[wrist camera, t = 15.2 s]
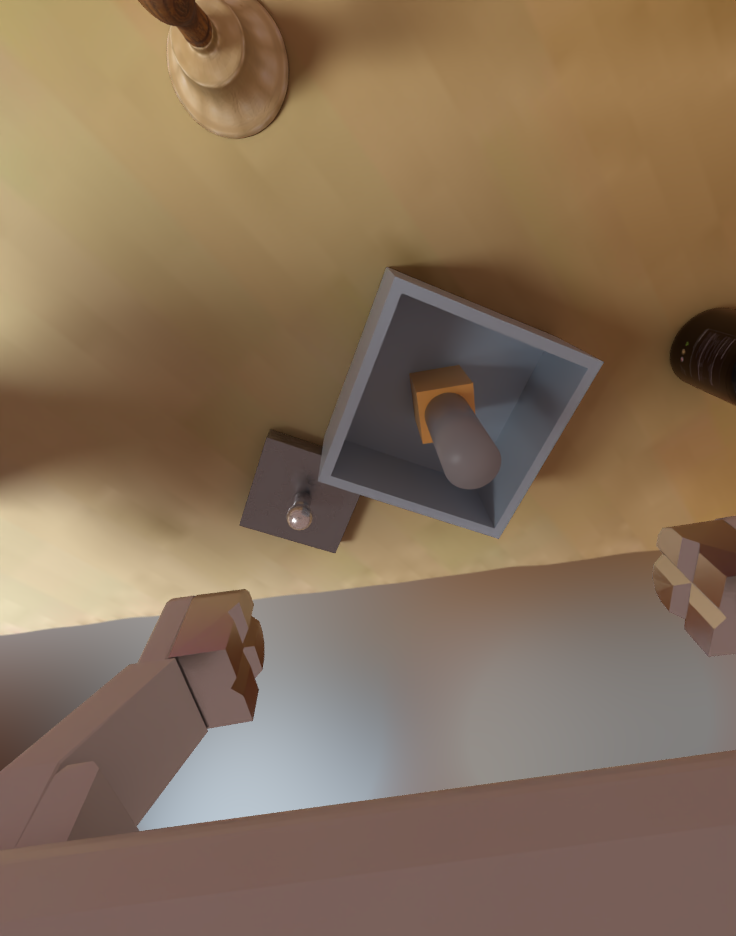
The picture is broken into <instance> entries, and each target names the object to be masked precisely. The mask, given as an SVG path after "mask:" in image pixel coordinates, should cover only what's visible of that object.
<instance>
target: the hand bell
mask: <svg viewBox="0 0 736 936" xmlns="http://www.w3.org/2000/svg"><path fill="white" fill-rule="evenodd" d="M138 1H139V2H140V3H141V4H142V5H143V7H144V8H145V9H146V10H147V11H149V12H150V13H151V14H152V15H153V16H154V17H156V18H157V19H158V20H160V21H162V22H164V23H166V24H168V25H171V26H170V29H169V34H168V40H167V64H168V70H169V75H170V79H171V82H172V85H173V88H174V91H175V93H176V95H177V97H178V99H179V101H180V102H181V104H182V105H183V107H184V108H185V110H186V111H187V112H188V114H189V115H190V116H191V117H192V118H193V119H194V120H195V121H196V122H197V123H198V124H200V125H201V126H202V127H203V128H205V129H206V130H208V131H210V132H212V133H214V134H216V135H219V136H222V137H227V138H244V137H249V136H252V135H254V134H256V133H258V132H260V131H262V130H263V129H264V128H266V127H267V126H268V125H269V124H270V123H271V122H272V121H273V120H274V118H275V117H276V115H277V114H278V112H279V110H280V108H281V106H282V103H283V101H284V99H285V95H286V91H287V86H288V71H289V69H288V58H287V53H286V49H285V44H284V41H283V38H282V36H281V33H280V31H279V29H278V27H277V25H276V23H275V22H274V20H273V18H272V17H271V15H270V14H269V13H268V11H267V10H266V9H265V8H264V7H263V6H262V5H261V4H260V3H259V2H258V1H257V0H138Z"/></svg>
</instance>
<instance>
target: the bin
mask: <svg viewBox="0 0 736 936" xmlns="http://www.w3.org/2000/svg"><path fill="white" fill-rule="evenodd" d="M603 363H604V362H603V361H601V360H599V359H597V358H595V357H594V356H592V355H590V354H588V353H586V352H584V351H582V350H580V349H578V348H577V347H575V346H573V345H571V344H569V343H567V342H565V341H563V340H562V339H560V338H558V337H556V336H553V335H551V334H548V333H546V332H544V331H541V330H539V329H536V328H534V327H532V326H529V325H527V324H524V323H522V322H519V321H517V320H515V319H512V318H510V317H507V316H505V315H502V314H500V313H498V312H495V311H493V310H490V309H488V308H485V307H483V306H481V305H478V304H476V303H473V302H471V301H469V300H466V299H464V298H461V297H459V296H456V295H454V294H452V293H449V292H447V291H444V290H442V289H439V288H437V287H435V286H432V285H430V284H427V283H425V282H422V281H420V280H418V279H415V278H413V277H410V276H408V275H406V274H403V273H401V272H398V271H396V270H393V269H391V268H389V267H386V270H385V272H384V275H383V278H382V281H381V283H380V286H379V289H378V291H377V294H376V297H375V300H374V302H373V305H372V308H371V311H370V313H369V316H368V319H367V321H366V324H365V327H364V330H363V332H362V335H361V338H360V341H359V343H358V346H357V349H356V351H355V354H354V357H353V360H352V362H351V365H350V368H349V371H348V373H347V376H346V379H345V381H344V384H343V387H342V390H341V392H340V395H339V398H338V400H337V403H336V406H335V409H334V411H333V414H332V417H331V420H330V422H329V425H328V428H327V430H326V433H325V436H324V441H323V448H322V455H321V462H320V469H319V476H318V482H321V483H325V484H328V485H331V486H334V487H337V488H340V489H343V490H347V491H350V492H353V493H356V494H359V495H362V496H365V497H369V498H372V499H375V500H378V501H381V502H384V503H387V504H391V505H394V506H397V507H400V508H403V509H406V510H410V511H413V512H416V513H419V514H422V515H425V516H428V517H432V518H435V519H438V520H441V521H444V522H447V523H450V524H454V525H457V526H460V527H463V528H466V529H469V530H472V531H476V532H479V533H482V534H485V535H488V536H491V537H494V538H498V539H499V538H500V536H501V534H502V533H503V531H504V529H505V528H506V526H507V524H508V522H509V521H510V519H511V517H512V516H513V514H514V512H515V511H516V509H517V507H518V506H519V504H520V502H521V501H522V499H523V497H524V496H525V494H526V492H527V491H528V489H529V487H530V486H531V484H532V482H533V480H534V479H535V477H536V475H537V474H538V472H539V470H540V469H541V467H542V465H543V464H544V462H545V460H546V459H547V457H548V455H549V454H550V452H551V450H552V449H553V447H554V445H555V443H556V442H557V440H558V438H559V437H560V435H561V433H562V432H563V430H564V428H565V427H566V425H567V423H568V422H569V420H570V418H571V417H572V415H573V413H574V412H575V410H576V408H577V406H578V405H579V403H580V401H581V400H582V398H583V396H584V395H585V393H586V391H587V390H588V388H589V386H590V385H591V383H592V381H593V380H594V378H595V376H596V375H597V373H598V371H599V370H600V368H601V366H602V364H603ZM455 365H460V367H461V368H462V369H463V371H464V372H465V373H466V374H467V376H468V377H469V378H470V380H471V381H472V382H473V387H474V401H475V415H476V416H477V418H478V419H479V421H480V422H481V424H482V425H483V427H484V428H485V430H486V431H487V433H488V435H489V436H490V438H491V439H492V441H493V442H494V444H495V445H496V447H497V448H498V450H499V452H500V455H501V467H500V470H499V472H498V474H497V475H496V477H495V478H494V479H493V480H492V481H491V482H490V483H488V484H487V485H485V486H483V487H480V488H477V489H462V488H459V487H456V486H455V485H453V484H452V483H451V482H450V481H449V480H448V479H447V477H446V475H445V473H444V470H443V467H442V465H441V462H440V459H439V457H438V454H437V451H436V449H435V446H434V443H426V444H423V443H422V440H421V437H420V434H419V431H418V427H417V424H416V421H415V416H414V408H413V400H412V392H411V384H410V377H409V373H413V372H419V371H425V370H431V369H437V368H443V367H449V366H455Z"/></svg>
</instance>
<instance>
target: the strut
mask: <svg viewBox="0 0 736 936" xmlns="http://www.w3.org/2000/svg"><path fill="white" fill-rule="evenodd" d="M409 377H410V384H411V392H412V400H413V408H414V416H415V421H416V424H417V427H418V431H419V434H420V437H421V440H422V443H423V444H426V443H434V446H435V449H436V451H437V454H438V457H439V459H440V462H441V465H442V467H443V470H444V473H445V475H446V477H447V479H448V480H449V481H450V482H451V483H452V484H453V485H455V486H456V487H459V488H462V489H477V488H480V487H483V486H485V485H487V484H488V483H490V482H491V481H492V480H493V479H494V478H495V477H496V475H497V474H498V472H499V470H500V467H501V455H500V452H499V450H498V448H497V447H496V445H495V444H494V442H493V441H492V439H491V438H490V436H489V435H488V433H487V431H486V430H485V428H484V427H483V425H482V424H481V422H480V421H479V419H478V418H477V416H476V415H475V401H474V387H473V382H472V381H471V380H470V378H469V377H468V376H467V374H466V373H465V372H464V371H463V369H462V368H461V367H460V365H455V366H449V367H443V368H437V369H431V370H425V371H419V372H413V373H409Z"/></svg>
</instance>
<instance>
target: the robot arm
mask: <svg viewBox="0 0 736 936" xmlns="http://www.w3.org/2000/svg"><path fill="white" fill-rule="evenodd" d="M657 547H658V548H659V549H660V551H661V552H662V553H663V554H662V555H661V557H660V558H659V559H658V560H657V561H656V562H655V563H654V567H653V577H652V579H653V583H654V587H655V591H656V593H657V595H658V597H659V599H660V601H661V602H662V604H663V605H664V606H665V607H666V608H667V610H668V611H669V612H671V613H673V614H675V615H677V616H679V617H681V618H683V619H685V624H684V629H685V631H686V632H687V633H688V634H689V635H690V637H691V638H692V639H693V640H694V641H695V642H696V643H697V645H698V646H699V647H700V648H701V649H702V650H703V651H704V652H705V654H706V655H707V656H708V657H710V656H719V655H727V654H736V516H731V517H725V518H720V519H715V520H713V521H706V522H699V523H692V524H686V525H679V526H673V527H666V528H662V530H661V531H660V533H659V535H658V540H657ZM253 606H254V603H253V601H252V598H251V595H250V593H249V591H247V590H246V589H241V590H233V591H225V592H217V593H209V594H201V595H196V596H188V597H180V598H173V599H171V600H170V601H168V602H167V603H166V605H165V607H164V609H163V611H162V613H161V615H160V617H159V619H158V621H157V623H156V625H155V627H154V630H153V632H152V634H151V636H150V638H149V640H148V642H147V644H146V646H145V648H144V650H143V652H142V655H141V657H140V659H139V661H138V663H136V664H130V665H128V666H127V667H126V668H125V669H123V670H122V671H121V672H120V673H119V674H117V675H116V676H115V677H114V678H113V679H111V680H110V681H109V682H108V683H107V684H105V685H104V686H103V687H102V688H100V689H99V690H98V691H97V692H96V693H95V694H93V695H92V696H91V697H90V698H88V699H87V700H86V701H85V702H84V703H82V704H81V705H80V706H79V707H78V708H77V709H75V710H74V711H73V712H72V713H70V714H69V715H68V716H67V717H66V718H65V719H63V720H62V721H61V722H60V723H58V724H57V725H56V726H55V727H53V728H52V729H51V730H50V731H49V732H48V733H46V734H45V735H44V736H43V737H42V738H40V739H39V740H38V741H37V742H35V743H34V744H33V745H32V746H31V747H29V748H28V749H27V750H26V751H25V752H23V753H22V754H21V755H20V756H19V757H17V758H16V759H15V760H14V761H13V762H11V763H10V764H9V765H8V766H6V767H5V768H4V769H3V770H2V771H1V772H0V936H736V750H732V751H724V752H718V753H710V754H703V755H695V756H688V757H681V758H674V759H666V760H659V761H652V762H645V763H637V764H630V765H623V766H615V767H608V768H601V769H593V770H586V771H579V772H571V773H564V774H556V775H549V776H542V777H534V778H527V779H519V780H512V781H505V782H497V783H490V784H483V785H476V786H468V787H460V788H453V789H446V790H438V791H431V792H424V793H416V794H409V795H402V796H394V797H387V798H380V799H373V800H365V801H358V802H350V803H343V804H336V805H329V806H322V807H314V808H306V809H299V810H292V811H285V812H277V813H270V814H262V815H255V816H248V817H240V818H233V819H226V820H218V821H212V822H204V823H197V824H189V825H182V826H174V827H167V828H161V829H153V830H145V831H139V830H138V828H137V827H136V826H137V825H138V824H139V822H140V821H141V820H142V818H143V817H144V815H145V814H146V813H147V812H148V810H149V809H150V808H151V806H152V805H153V804H154V802H155V801H156V800H157V798H158V797H159V796H160V794H161V793H162V792H163V790H164V789H165V788H166V786H167V785H168V784H169V782H170V781H171V780H172V778H173V777H174V776H175V774H176V773H177V772H178V770H179V769H180V768H181V766H182V765H183V763H184V762H185V761H186V760H187V758H188V757H189V756H190V754H191V753H192V752H193V750H194V749H195V748H196V746H197V745H198V744H199V742H200V741H201V740H202V738H203V737H204V735H205V734H206V733H207V732H208V730H207V729H208V728H214V727H219V726H226V725H231V724H237V723H243V722H249V721H253V717H254V712H255V707H256V701H257V696H258V691H259V689H258V686H257V683H256V680H255V678H256V676H257V675H258V674H259V673H260V672H261V671H262V669H263V663H264V638H263V632H262V628H261V625H260V622H259V621H258V620H257V619H255V618H254V617H252V616H251V615H252V611H253Z"/></svg>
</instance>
